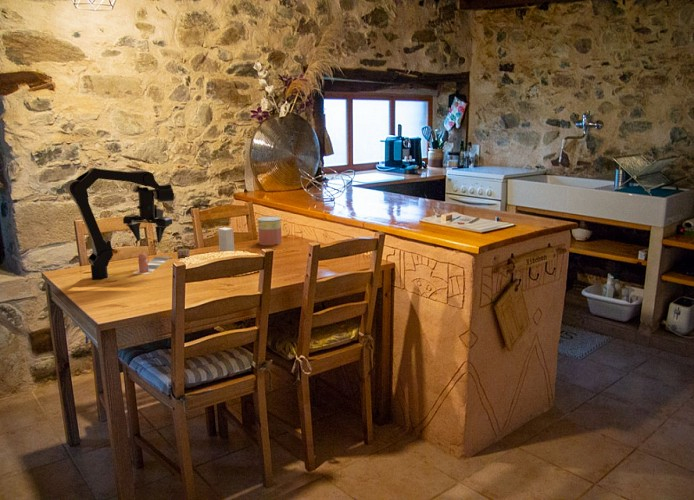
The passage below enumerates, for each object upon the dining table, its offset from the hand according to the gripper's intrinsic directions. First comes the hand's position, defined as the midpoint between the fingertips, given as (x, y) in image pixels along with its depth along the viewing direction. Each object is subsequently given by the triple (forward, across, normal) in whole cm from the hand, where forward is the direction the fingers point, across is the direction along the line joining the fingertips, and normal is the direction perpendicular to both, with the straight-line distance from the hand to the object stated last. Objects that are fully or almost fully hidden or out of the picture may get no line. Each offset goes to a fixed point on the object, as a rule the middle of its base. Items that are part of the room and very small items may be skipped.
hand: (148, 241), depth 229 cm
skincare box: (+12, -18, -33) cm, 39 cm away
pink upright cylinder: (+11, 0, +4) cm, 12 cm away
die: (+12, -2, -22) cm, 25 cm away
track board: (+12, +3, -6) cm, 14 cm away
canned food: (+11, -28, -60) cm, 67 cm away
